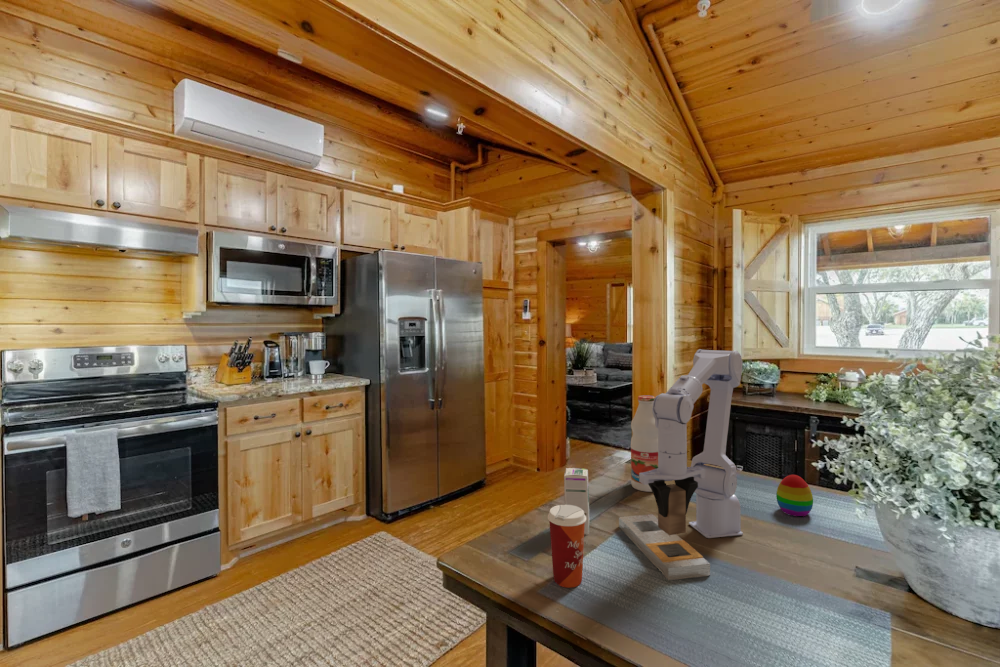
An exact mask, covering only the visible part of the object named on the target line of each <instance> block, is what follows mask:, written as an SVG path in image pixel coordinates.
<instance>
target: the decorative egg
mask: <svg viewBox="0 0 1000 667" xmlns="http://www.w3.org/2000/svg"><path fill="white" fill-rule="evenodd" d="M775 497H776V503H777V504H778V506H779V508H780V510H781V511H782V513H784V514H786V515H788V514H789V516H792V515H793V516H792V517H797V516H803V517H806V516H808V515H809V514H810V512H812V510H813V505H814V496H813V493H812V490H811V488H810V486H809V485H808V483H807V482H806V481H805V480H804V479H803V478H802V477H801V476H799V475H797V474H788V475H787V476H785V477H784V478H783V479H782V480H781V481H780V482H779V483H778V485H777V489H776V496H775Z"/></svg>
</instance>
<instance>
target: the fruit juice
mask: <svg viewBox="0 0 1000 667" xmlns="http://www.w3.org/2000/svg"><path fill="white" fill-rule="evenodd" d="M655 397H656V396H654V395H649V394H648V395H645V394H644V395H642V394H641V395H638V396H637V401H638V406H637V408H636V411H635V414H634V416H633V418H632V420H631V423H630V429H631V431H632V436H631V438H630V481H631V482H630V484H631V486H632V488H634V489H635V490H638V491H641V492H647V493H653V492H652V490H651V488H650V486H649V485H644V484H642V483H641V482H639V473H643V472H647V471H650V470H654V469H657V468H658V428H656V426H655V418H654V416H653V412H652V407H653V402H654V399H655Z"/></svg>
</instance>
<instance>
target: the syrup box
mask: <svg viewBox="0 0 1000 667" xmlns="http://www.w3.org/2000/svg"><path fill="white" fill-rule="evenodd" d="M563 481H564V482H563V484H564V488H563V490H564V491H563V492H564V505H573V506H577V507H579V508H581V509H582V510H583V511H584V515H585V516H586V521H585V527H584V535H587V536H588V535H589V534H590V494H589V491H590V490H589V489H590V488H589V470H588V468H582V467H569V468H568V467H566V468H565V471H564V475H563Z"/></svg>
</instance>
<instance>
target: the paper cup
mask: <svg viewBox="0 0 1000 667" xmlns="http://www.w3.org/2000/svg"><path fill="white" fill-rule="evenodd" d="M547 520H548V521H549V534H550V547H551V548H550V549H551V562H552V574H553V581H554V582H555V584H556V585H557V586H559V587H562V588H566V589H567V588H568V589H572V588H577V587H578V586H580V585H581V584H582V581H583V580H582V579H583V569H584V568H583V566H584V546H585V544H584V543H585V534H584V527H585V521H586V516H585V515H584V511H583V510H582V509H581V508H579V507H577V506H573V505H565V504H557V505H555V506H552V507H551V508H550V510H549V512H548V514H547Z"/></svg>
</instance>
